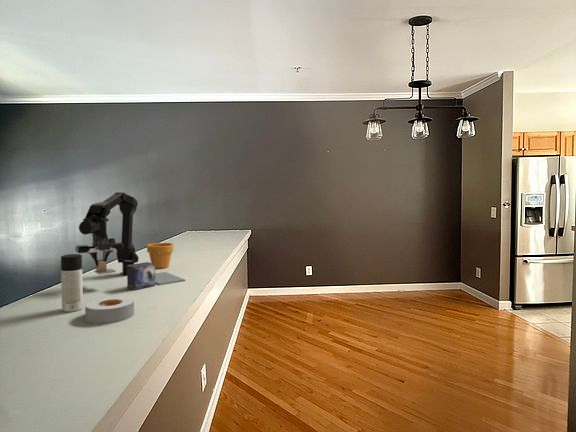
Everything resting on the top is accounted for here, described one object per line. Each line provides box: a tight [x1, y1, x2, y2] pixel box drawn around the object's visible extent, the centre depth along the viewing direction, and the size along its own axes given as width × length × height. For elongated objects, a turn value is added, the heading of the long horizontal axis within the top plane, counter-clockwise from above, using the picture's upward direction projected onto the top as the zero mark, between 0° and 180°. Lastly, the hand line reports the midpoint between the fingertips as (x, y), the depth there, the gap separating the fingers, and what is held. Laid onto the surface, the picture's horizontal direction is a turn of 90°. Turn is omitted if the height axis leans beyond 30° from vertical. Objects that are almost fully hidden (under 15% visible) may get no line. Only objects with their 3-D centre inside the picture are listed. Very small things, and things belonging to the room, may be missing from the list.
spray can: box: [60, 253, 84, 313], centre depth 134 cm, size 7×7×20 cm
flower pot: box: [146, 242, 174, 270], centre depth 210 cm, size 14×14×13 cm
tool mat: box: [155, 271, 186, 286], centre depth 183 cm, size 22×13×1 cm, turn 43°
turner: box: [93, 258, 117, 275], centre depth 166 cm, size 14×7×4 cm, turn 43°
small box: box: [126, 261, 156, 291], centre depth 167 cm, size 11×6×10 cm, turn 143°
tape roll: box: [84, 296, 135, 325], centre depth 129 cm, size 15×15×5 cm
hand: (100, 266), depth 168 cm, fingers closed on turner, 3 cm apart
